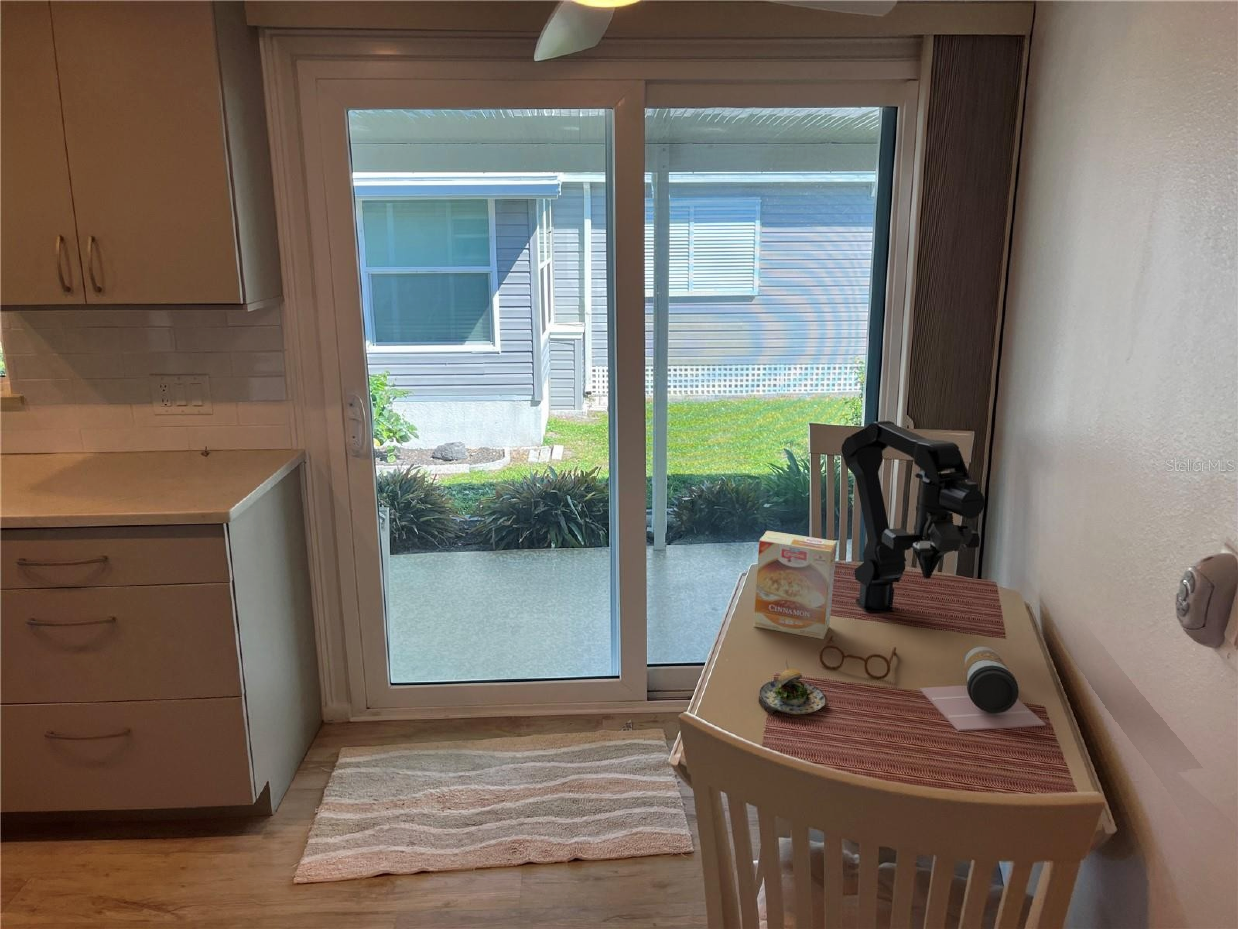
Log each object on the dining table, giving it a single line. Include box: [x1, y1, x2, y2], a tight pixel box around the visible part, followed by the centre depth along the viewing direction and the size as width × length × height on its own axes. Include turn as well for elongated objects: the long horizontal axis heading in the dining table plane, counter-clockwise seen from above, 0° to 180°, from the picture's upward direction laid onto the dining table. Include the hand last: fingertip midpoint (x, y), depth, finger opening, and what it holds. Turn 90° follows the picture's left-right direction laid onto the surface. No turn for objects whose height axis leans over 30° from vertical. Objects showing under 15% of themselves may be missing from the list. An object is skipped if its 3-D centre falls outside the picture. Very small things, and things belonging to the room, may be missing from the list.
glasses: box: [818, 635, 897, 680], centre depth 175 cm, size 13×13×5 cm
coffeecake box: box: [753, 530, 838, 640], centre depth 187 cm, size 15×7×20 cm, turn 68°
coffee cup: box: [964, 646, 1020, 713], centre depth 161 cm, size 8×8×15 cm
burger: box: [758, 659, 828, 715], centre depth 158 cm, size 12×12×8 cm
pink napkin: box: [919, 685, 1046, 732], centre depth 159 cm, size 16×14×1 cm
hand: (926, 578), depth 182 cm, fingers closed
